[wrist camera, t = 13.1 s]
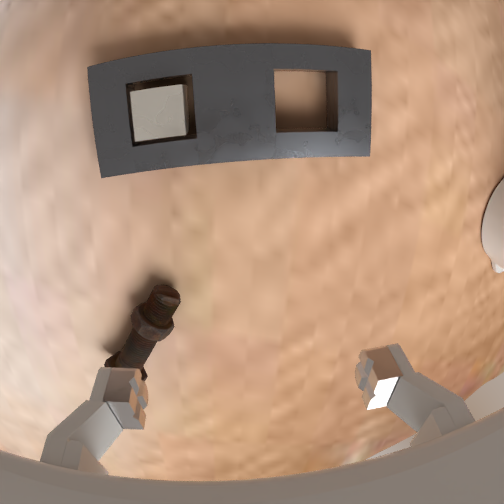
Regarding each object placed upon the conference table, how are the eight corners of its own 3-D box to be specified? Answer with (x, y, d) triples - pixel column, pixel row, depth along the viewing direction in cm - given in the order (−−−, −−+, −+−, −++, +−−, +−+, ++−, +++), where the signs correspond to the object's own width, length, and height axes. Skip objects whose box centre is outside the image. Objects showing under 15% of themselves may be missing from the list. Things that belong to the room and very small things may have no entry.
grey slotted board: (356, 52, 25) (370, 50, 23) (356, 150, 30) (370, 156, 27) (98, 68, 23) (87, 66, 21) (110, 169, 28) (101, 178, 25)
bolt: (177, 276, 37) (132, 357, 41) (139, 271, 33) (100, 357, 38) (199, 312, 33) (148, 391, 38) (159, 310, 30) (114, 394, 34)
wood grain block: (187, 85, 26) (182, 84, 21) (190, 128, 27) (186, 135, 23) (143, 91, 25) (130, 91, 21) (147, 133, 27) (135, 141, 23)
